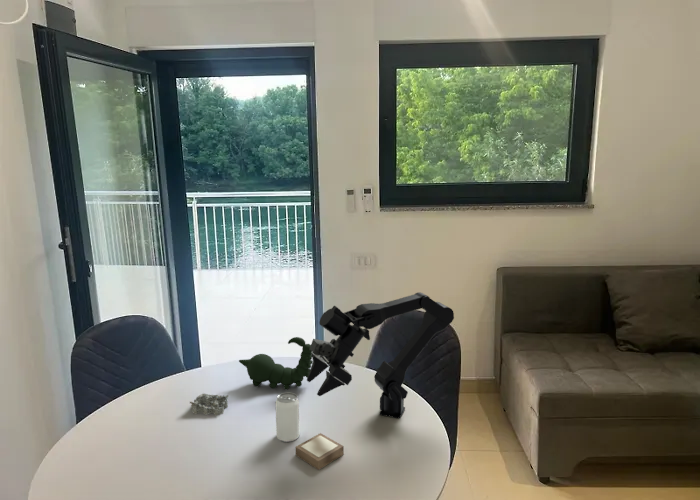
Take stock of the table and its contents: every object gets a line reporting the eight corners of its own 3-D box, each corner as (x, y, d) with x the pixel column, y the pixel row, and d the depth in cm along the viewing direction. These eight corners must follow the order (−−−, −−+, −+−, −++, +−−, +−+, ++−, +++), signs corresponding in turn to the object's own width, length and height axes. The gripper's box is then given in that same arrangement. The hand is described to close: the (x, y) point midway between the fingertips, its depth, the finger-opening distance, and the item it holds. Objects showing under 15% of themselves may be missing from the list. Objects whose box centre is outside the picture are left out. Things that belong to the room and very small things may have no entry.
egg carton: (188, 414, 156) (187, 402, 155) (199, 402, 163) (198, 390, 162) (221, 417, 154) (220, 404, 153) (231, 405, 161) (230, 393, 160)
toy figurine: (311, 384, 178) (241, 376, 179) (315, 334, 174) (243, 326, 175) (307, 397, 169) (233, 389, 170) (312, 344, 165) (236, 336, 166)
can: (295, 443, 140) (294, 404, 137) (273, 441, 141) (271, 401, 139) (302, 431, 146) (301, 392, 144) (281, 428, 147) (279, 390, 145)
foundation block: (320, 441, 141) (320, 432, 140) (343, 454, 135) (343, 445, 134) (295, 455, 135) (295, 446, 134) (318, 469, 129) (318, 460, 128)
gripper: (314, 318, 150) (282, 361, 149) (337, 340, 134) (301, 389, 132) (341, 337, 155) (310, 379, 154) (366, 361, 138) (332, 408, 137)
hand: (312, 388), depth 144 cm, fingers open, 9 cm apart
